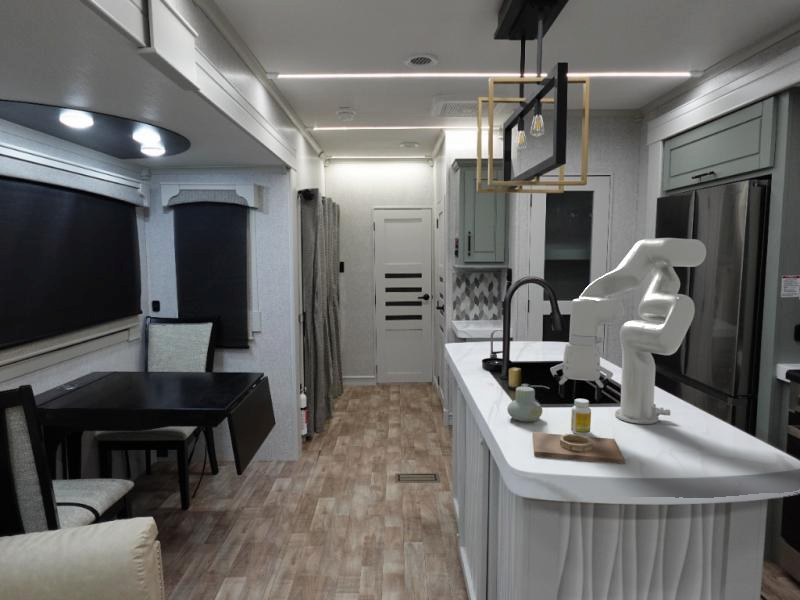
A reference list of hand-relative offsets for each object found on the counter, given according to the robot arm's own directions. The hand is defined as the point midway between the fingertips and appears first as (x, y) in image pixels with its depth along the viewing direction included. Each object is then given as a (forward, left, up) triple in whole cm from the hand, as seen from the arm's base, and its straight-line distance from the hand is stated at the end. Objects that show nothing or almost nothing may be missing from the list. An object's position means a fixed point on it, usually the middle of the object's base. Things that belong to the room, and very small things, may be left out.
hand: (579, 398), depth 142 cm
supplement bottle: (-1, -1, -11) cm, 11 cm away
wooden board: (+2, +13, -10) cm, 17 cm away
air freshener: (+15, -9, -11) cm, 20 cm away
